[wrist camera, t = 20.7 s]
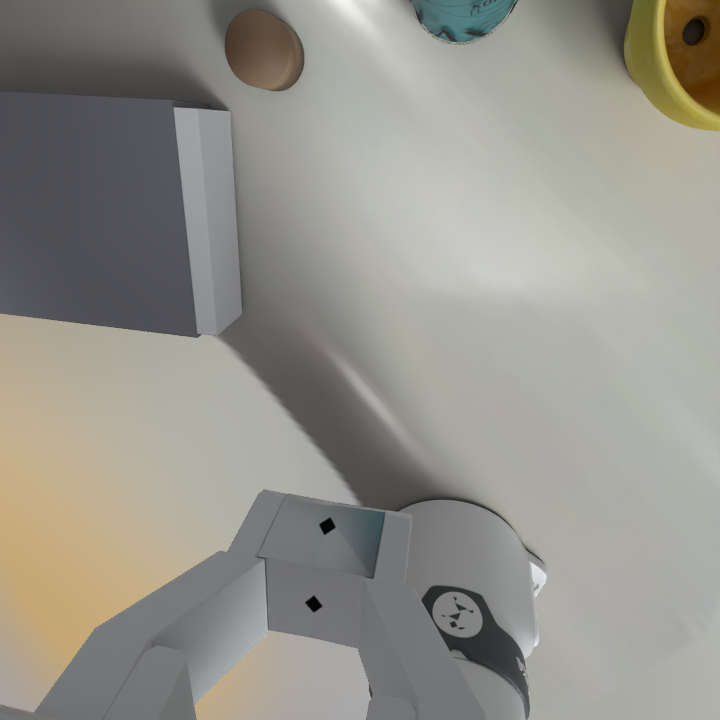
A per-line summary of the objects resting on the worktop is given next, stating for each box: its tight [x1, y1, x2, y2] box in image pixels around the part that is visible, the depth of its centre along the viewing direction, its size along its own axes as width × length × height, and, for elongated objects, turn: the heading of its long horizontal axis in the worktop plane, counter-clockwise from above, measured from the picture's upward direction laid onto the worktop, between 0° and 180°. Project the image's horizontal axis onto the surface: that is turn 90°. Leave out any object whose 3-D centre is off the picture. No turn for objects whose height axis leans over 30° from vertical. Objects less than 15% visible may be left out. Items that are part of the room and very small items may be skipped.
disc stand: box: [225, 9, 304, 91], centre depth 30 cm, size 4×4×4 cm
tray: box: [173, 107, 242, 336], centre depth 36 cm, size 18×15×5 cm
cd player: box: [0, 91, 209, 338], centre depth 37 cm, size 18×16×5 cm
